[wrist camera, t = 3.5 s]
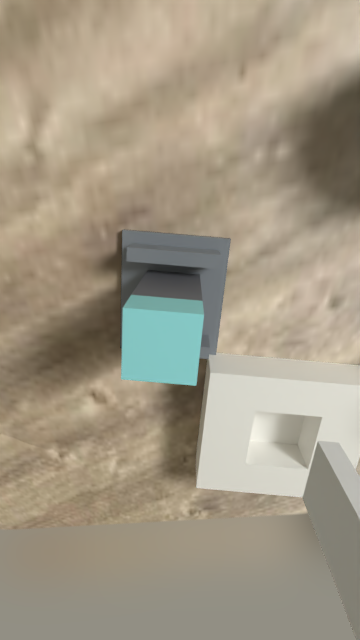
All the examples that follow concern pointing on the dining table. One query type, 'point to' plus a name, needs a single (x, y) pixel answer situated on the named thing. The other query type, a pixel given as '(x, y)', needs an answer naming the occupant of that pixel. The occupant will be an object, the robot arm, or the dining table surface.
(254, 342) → the dining table surface
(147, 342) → the plug
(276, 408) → the port
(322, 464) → the robot arm
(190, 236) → the holster
